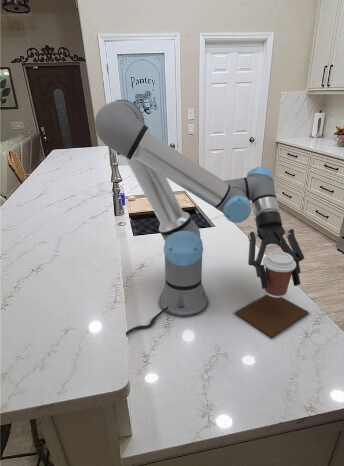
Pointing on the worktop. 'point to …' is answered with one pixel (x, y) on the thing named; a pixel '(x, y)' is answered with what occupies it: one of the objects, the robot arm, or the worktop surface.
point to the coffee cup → (278, 273)
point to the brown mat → (271, 314)
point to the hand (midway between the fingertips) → (281, 286)
